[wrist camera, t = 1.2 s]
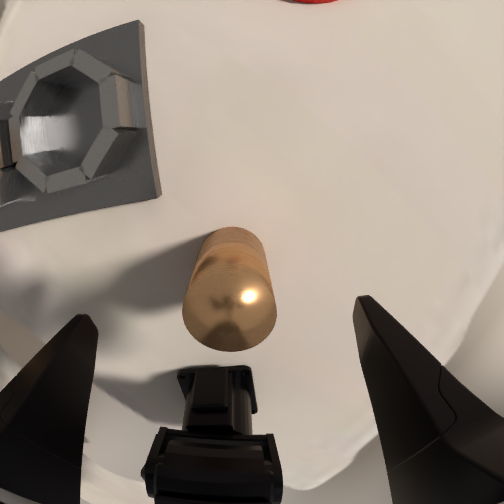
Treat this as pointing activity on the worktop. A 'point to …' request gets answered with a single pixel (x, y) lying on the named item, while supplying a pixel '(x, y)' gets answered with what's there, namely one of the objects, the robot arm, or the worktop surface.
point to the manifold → (78, 130)
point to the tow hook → (316, 1)
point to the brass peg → (230, 292)
